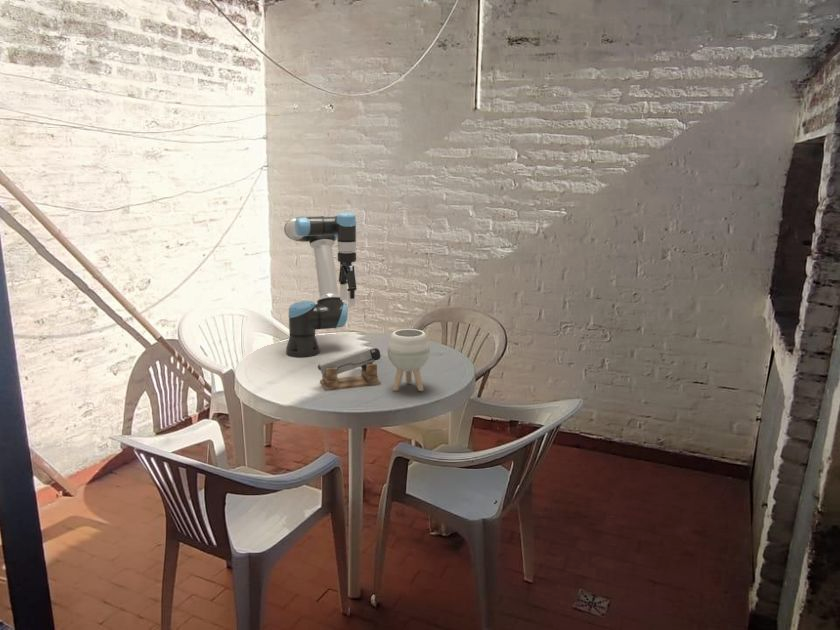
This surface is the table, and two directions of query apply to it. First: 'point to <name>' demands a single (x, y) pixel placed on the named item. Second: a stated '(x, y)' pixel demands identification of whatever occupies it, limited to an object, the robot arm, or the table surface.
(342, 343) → the table surface
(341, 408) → the table surface
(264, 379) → the table surface
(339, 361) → the gun
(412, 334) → the planter
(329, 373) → the display stand
